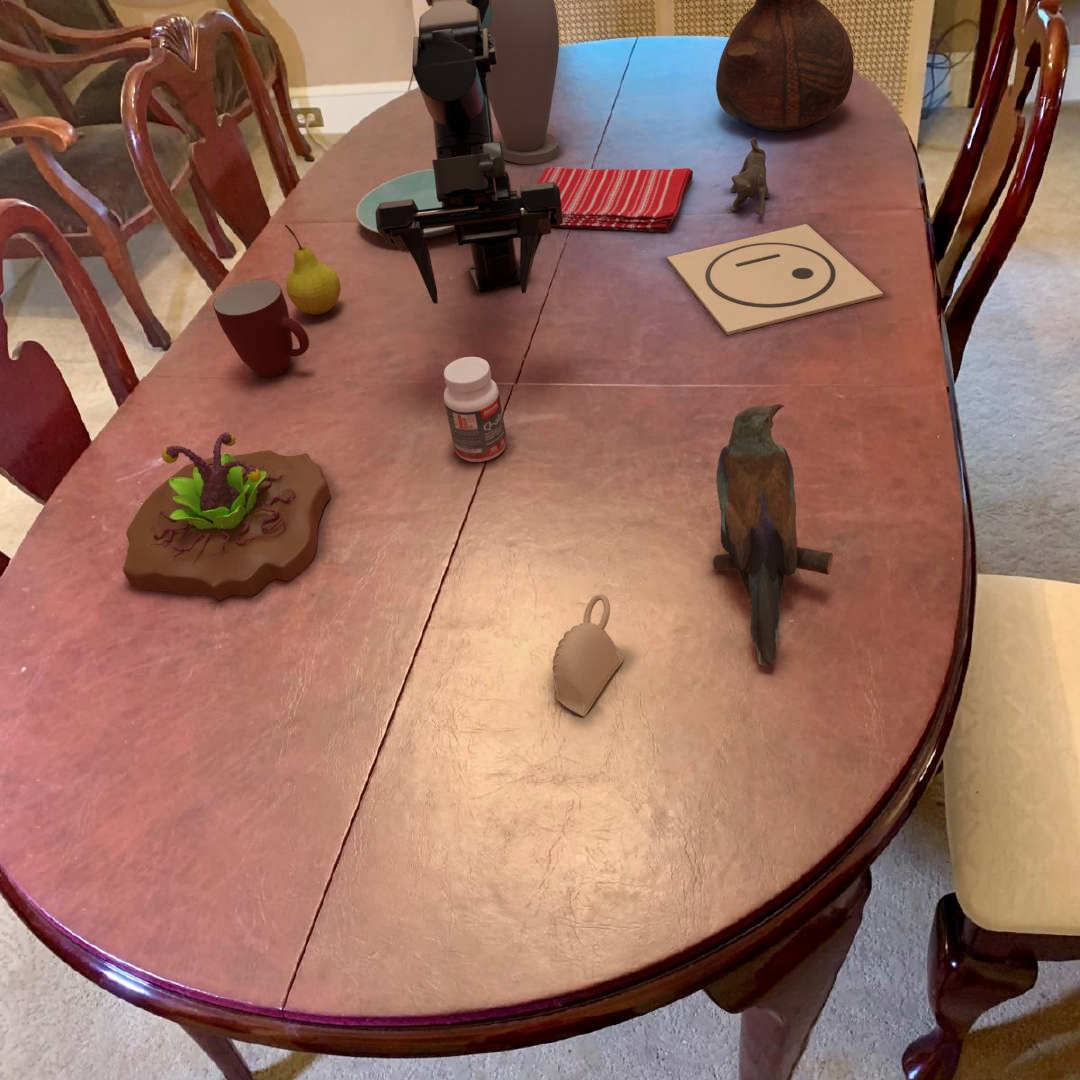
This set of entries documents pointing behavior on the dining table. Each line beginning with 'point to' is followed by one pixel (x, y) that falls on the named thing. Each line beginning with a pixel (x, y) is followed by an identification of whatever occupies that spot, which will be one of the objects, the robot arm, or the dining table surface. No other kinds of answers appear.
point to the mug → (260, 326)
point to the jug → (785, 65)
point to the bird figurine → (761, 522)
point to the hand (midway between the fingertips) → (479, 297)
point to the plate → (402, 188)
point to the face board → (771, 278)
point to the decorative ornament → (585, 661)
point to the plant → (227, 523)
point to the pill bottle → (474, 410)
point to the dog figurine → (751, 179)
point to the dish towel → (619, 197)
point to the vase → (524, 77)
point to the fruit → (312, 282)
